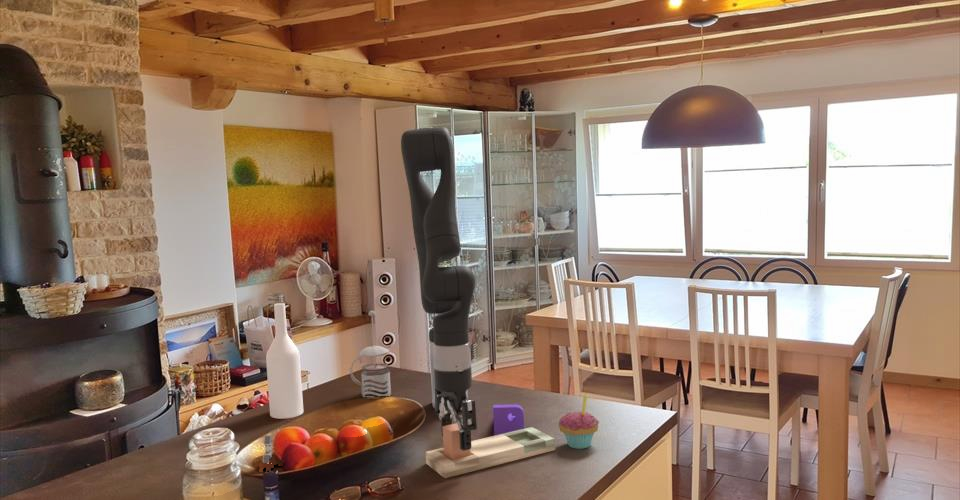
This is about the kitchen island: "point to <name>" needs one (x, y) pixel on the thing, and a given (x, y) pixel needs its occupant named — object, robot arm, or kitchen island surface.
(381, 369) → the french press
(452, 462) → the rail
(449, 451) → the salmon orange rectangular block
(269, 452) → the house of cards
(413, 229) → the robot arm
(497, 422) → the bracket
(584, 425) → the cupcake
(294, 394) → the bottle
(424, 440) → the kitchen island surface
